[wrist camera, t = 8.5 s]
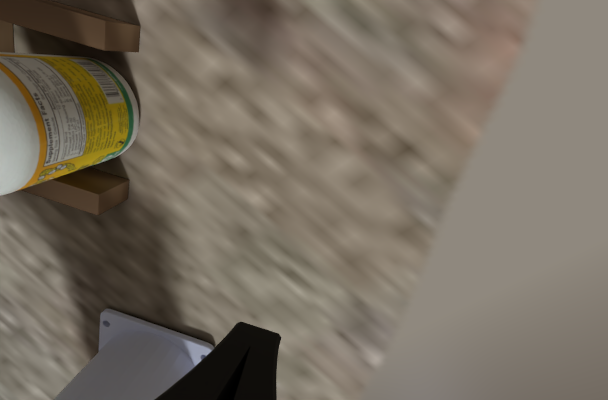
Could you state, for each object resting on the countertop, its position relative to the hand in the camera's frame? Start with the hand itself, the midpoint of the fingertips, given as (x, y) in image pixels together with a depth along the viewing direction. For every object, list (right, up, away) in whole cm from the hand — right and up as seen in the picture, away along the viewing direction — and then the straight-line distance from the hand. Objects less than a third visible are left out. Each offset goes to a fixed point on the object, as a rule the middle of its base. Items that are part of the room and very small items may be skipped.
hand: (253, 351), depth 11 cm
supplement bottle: (-10, +10, +9) cm, 16 cm away
